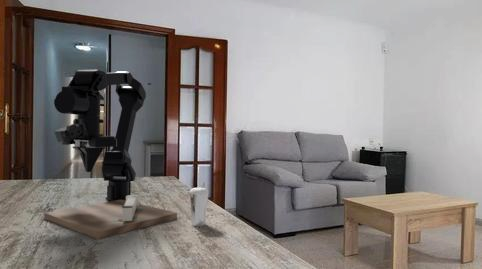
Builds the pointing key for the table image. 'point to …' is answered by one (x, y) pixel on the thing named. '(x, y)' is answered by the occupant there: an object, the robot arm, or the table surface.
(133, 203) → the peg lever
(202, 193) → the milkshake
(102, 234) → the plate
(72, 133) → the robot arm
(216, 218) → the table surface
